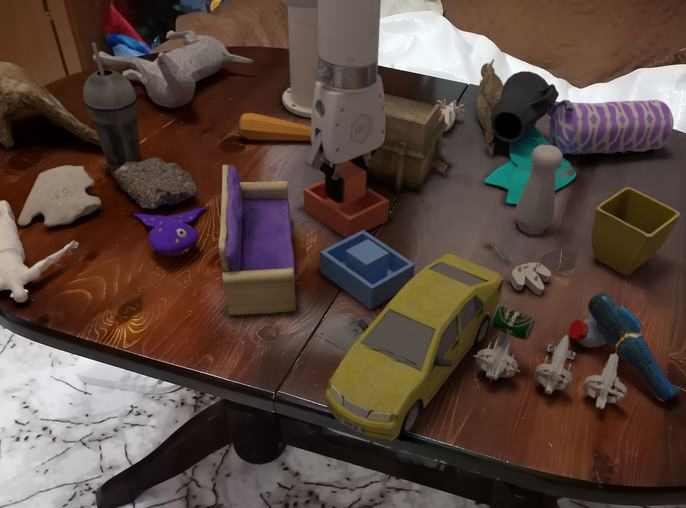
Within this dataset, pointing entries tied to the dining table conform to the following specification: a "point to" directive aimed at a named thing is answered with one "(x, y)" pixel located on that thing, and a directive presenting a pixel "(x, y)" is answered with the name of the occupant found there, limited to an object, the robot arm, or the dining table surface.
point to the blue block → (368, 261)
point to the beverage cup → (113, 114)
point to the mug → (521, 105)
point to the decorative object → (60, 197)
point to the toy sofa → (256, 246)
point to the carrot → (272, 128)
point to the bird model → (488, 101)
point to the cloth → (523, 167)
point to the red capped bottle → (586, 333)
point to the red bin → (346, 210)
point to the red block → (352, 182)
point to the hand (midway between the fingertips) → (346, 192)
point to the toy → (171, 232)
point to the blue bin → (355, 284)
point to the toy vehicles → (552, 370)
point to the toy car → (413, 347)
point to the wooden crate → (409, 145)
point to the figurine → (19, 257)
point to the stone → (155, 182)
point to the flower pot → (630, 229)
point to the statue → (176, 67)
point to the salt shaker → (539, 191)
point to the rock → (33, 104)
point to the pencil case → (609, 126)
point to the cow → (450, 112)
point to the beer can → (512, 323)
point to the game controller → (529, 276)
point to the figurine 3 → (629, 343)
